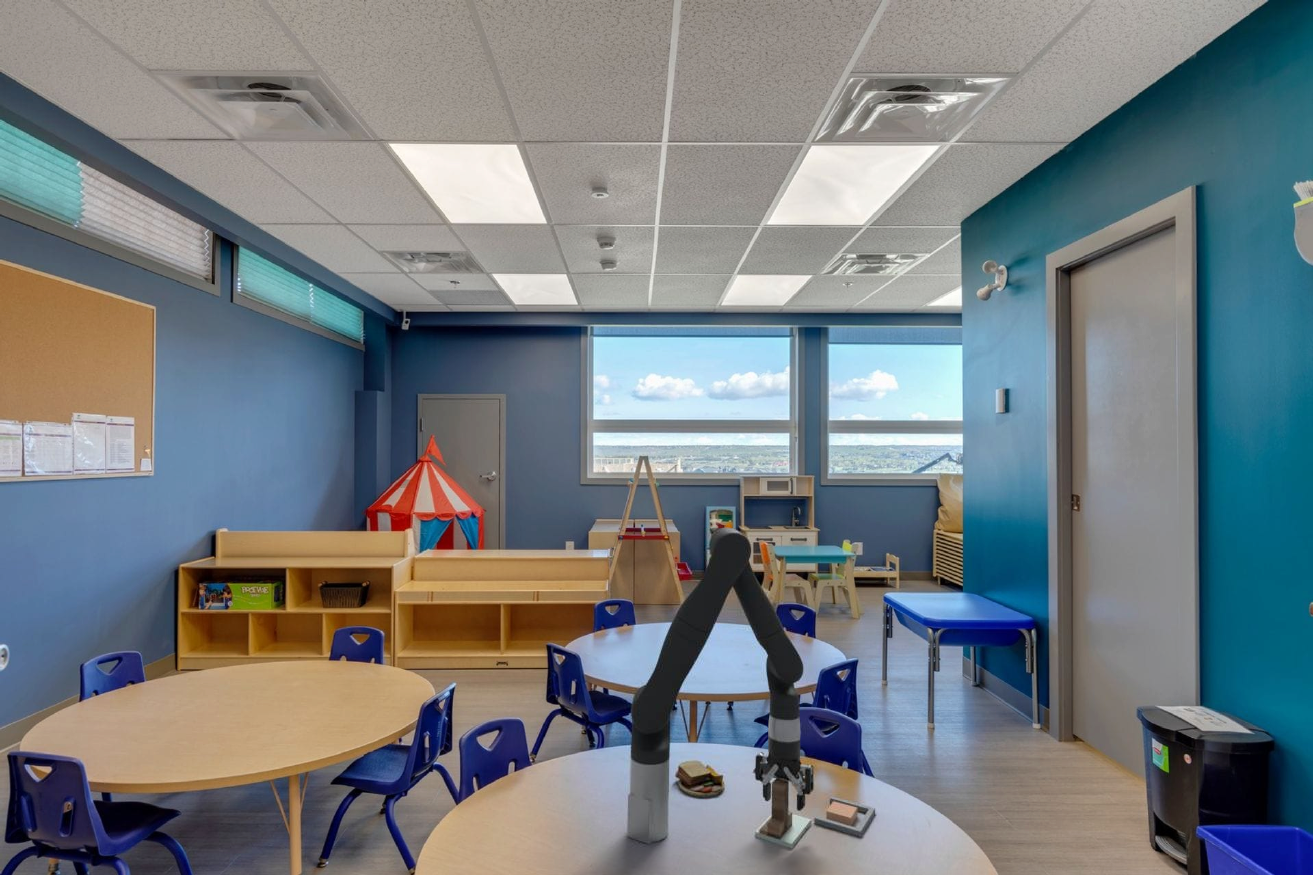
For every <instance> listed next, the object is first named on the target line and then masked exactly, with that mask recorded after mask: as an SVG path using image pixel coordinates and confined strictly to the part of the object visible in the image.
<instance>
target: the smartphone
mask: <svg viewBox="0 0 1313 875" xmlns="http://www.w3.org/2000/svg"><path fill="white" fill-rule="evenodd" d="M770 770H771V768H770V766H769V765H768V763H767V762H765V763H764V775H765V776H766V775H767V774H768V772H769V771H770ZM753 774H755V768H754V769H753ZM799 774H800V776H801V778H802V782H803V784H805V775H803V771H802V770H800V771H799ZM773 778H774V779H776V776H775V775H774V776H773ZM778 779H782V780H785V779H783V778H778ZM789 782H791V781H790V780H789Z"/></svg>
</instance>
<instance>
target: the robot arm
mask: <svg viewBox="0 0 1313 875" xmlns="http://www.w3.org/2000/svg"><path fill="white" fill-rule="evenodd" d="M708 549H709V554H710V559H709V560H708V564H707V566H706V568H705V571H704V572H703V575H702V577H701V579H700V580H699V582H698V584H697V585H696V586H695V588H694V589H693V590H692V591H690V593H689V594H688V596H687V597H686V598H685V599H684V601H683V602H682V603H681V605H680V606H679V608H678V610H677V612H676V614H675V616H674V618H673V620H672V622H671V623H670V626H669V628H668V630H667V632H666V635H665V637H664V640H663V643H662V646H661V650H660V652H659V656H658V659H657V662H656V665H655V668H654V669H653V671H652V674H651V675H650V676H649V679H648V680H647V682H646V684H644V685H642V686H640V687H639V688H638V689H637V690H636V691H635V694H634V695H633V697H632V702H631V708H630V716H631V720H632V721H631V742H630V770H629V771H630V772H629V774H630V776H629V778H630V779H629V793H628V796H627V830H626V832H627V834H626V835H627V837H629V838H631V839H634V840H637V841H639V842H641V843H645V844H648V845H650V844H652V843H654V842H659V841H661V840H663V839H665V838H667V836H668V834H669V809H670V808H669V806H670V805H669V804H670V803H669V801H670V798H669V797H670V795H669V794H670V750H671V714H672V711H673V708H674V706H675V704H676V701H677V698H678V696H679V693H680V690H681V688H682V685H683V684H684V682H685V680H686V679H687V677H688V675H689V674H690V672H691V670H692V669H693V667H694V665H695V663H696V662H697V660H698V658H699V656H700V654H701V653H702V651H703V650H704V648H705V645H706V644H707V643H708V642H707V641H708V639H709V638H710V636H711V634H712V631H713V630H714V627H715V625H716V624H717V623H716V622H717V621H718V618H719V616H720V614H721V612H722V610H723V607H724V604H725V603H726V600H727V598H728V595H729V594H730V592H731V590H732V588H733V590H734V592H735V595H736V596H737V599H738V601H739V603H740V606H741V608H742V611H743V613H744V616H745V618H746V619H747V621H748V624H749V626H750V628H751V630H752V632H753V634H754V637H755V639H756V641H757V642H758V644H759V645H760V647H761V648H763V650H765V653H766V654H767V657H766V664H765V668H766V669H765V671H766V679H767V686H768V691H769V718H768V730H767V732H768V739H767V743H768V746H767V747H768V748H767V753H768V754H764V752H763V751H760V752H759V753H758V754H756V755H755V763H754V764H755V768H754V769H755V773H754V774H755V780H756V781H760V782H761V783H762V797H763V798H764V801H765V802H769V801H770V800H772V782H771V780H772V779H773V778H774V777H773V776H774V775H775V776H776V778H783V779H785V780H786V781H789V780H790V781H789V782H790V783H791V785H792V787H794V789H795V791H796V792H797V794H796V811H798V812H801V811H802V810H803V809H804V808H805V806H806V795H807V796H808V795H810V794H811V792H813V791H814V784H815V783H814V782H815V781H814V780H815V779H814V766H813V764H808V765H807V764H802V762H801V734H802V733H801V722H800V697H799V696H800V695H799V694H798V692H797V690H796V688H795V683H797V682H799V681H800V680H801V679H802V677H803V675H804V663H803V660H802V658H801V655H800V654H799V652H798V650H797V649H796V647H795V645H794V644H793V643H792V641H791V639H790V638H789V636H788V635H787V633H786V631H785V628H784V626H783V624H782V622H781V620H780V618H779V616H778V614H777V611H776V610H775V608H774V606H773V604H772V601H770V599H769V597H768V595H767V593H766V592H765V590H764V589H763V587H762V586H761V584H760V582H759V581H758V578H757V577H756V575H755V572H754V570H753V567H752V566H751V563H750V559H751V555H752V545H751V543H750V540H749V539H748V537H747V536H746V535H745V534H743V533H742V532H740V530H737V529H735V528H731V527H722V528H719V529H717V530H716V531H714V532H713V533H712V535H711V537H710V539H709V543H708ZM764 763H768V765H769V766H770V768H771V770H770V771H769V772H768V774H767V775H766V776H765V775H764ZM800 770H801V771H803V775H805V783H803V782H802V778H801V776H800V774H799V771H800ZM776 778H775V779H776ZM783 779H782V780H783Z"/></svg>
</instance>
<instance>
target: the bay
mask: <svg viewBox="0 0 1313 875" xmlns="http://www.w3.org/2000/svg"><path fill="white" fill-rule="evenodd" d="M833 801H834V802H838V803H842V804H845V805H849V806H853V807H857V812H861V813H864V814H865V815H864V816H863V818H862V819H861V821H860V822H859V824H858V825H857V827H855V826H853V825H852V826H849V825H845V824H842V823H838V822H835V821H832V820H828V819H826V817H825V818H824V817H821V816H818V815H815V817H813V819H814V820H813V822H815V823H814V824H816V823H817V824H816V825H819V826H822V825H824V826H823V827H826V828H829V827H830V829H834V830H836V831H840V832H843V833H846V834H849V835H853V836H856V837H859V838H861V837H862V835H863V834H864V832H865V831H866V829H867V827H868V826H869V824H870V822H872V821H871V820H872V819H873V817H874V816H875V815H876V807H873V806H867V805H864V804H860V803H856V802H853V801H850V800H847V799H842V798H839V797H836V796H832V795H831V796H830V798H829V804H832V803H833Z"/></svg>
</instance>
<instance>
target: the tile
mask: <svg viewBox="0 0 1313 875" xmlns="http://www.w3.org/2000/svg"><path fill="white" fill-rule="evenodd" d="M857 818H858V811H857V807H853V806H849V805H845V804H842V803H838V802H834V801H833V803H830V805H829V807H828V808H827V810H826V816H825V819H828V820H832V821H835V822H838V823H842V824H845V825H849V826H852V827H853V825H854V823H855V821H856V820H857Z"/></svg>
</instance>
